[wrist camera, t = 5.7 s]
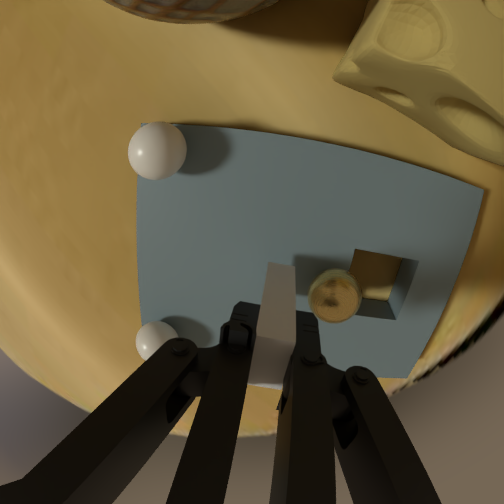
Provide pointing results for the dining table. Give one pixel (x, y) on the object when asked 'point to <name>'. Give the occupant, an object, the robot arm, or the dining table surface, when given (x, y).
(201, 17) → the vase
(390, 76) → the cheese
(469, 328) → the dining table surface
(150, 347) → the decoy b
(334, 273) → the ball
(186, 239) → the plate
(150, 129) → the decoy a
